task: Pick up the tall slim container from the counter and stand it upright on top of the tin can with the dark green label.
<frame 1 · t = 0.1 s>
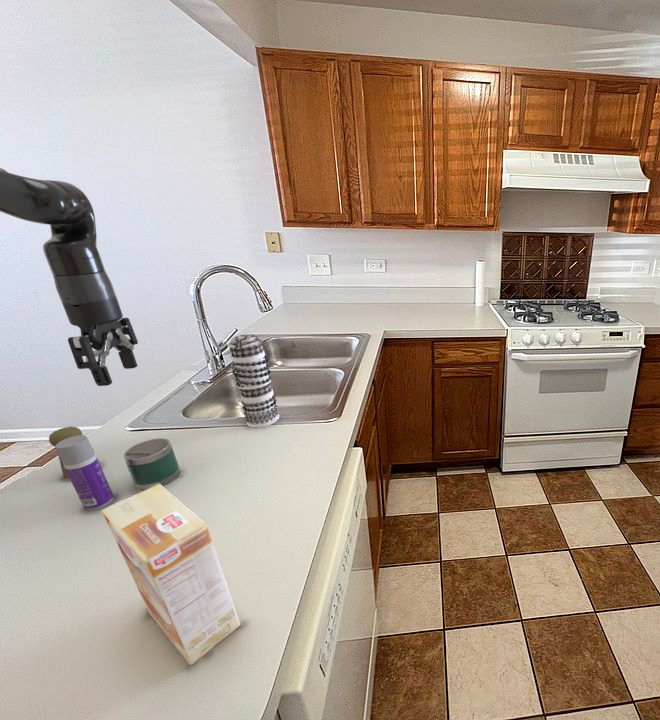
hand: (118, 376, 80), 25 cm above the table, tool pointing down, fingers open, 8 cm apart
cork: (81, 471, 92), on the table
decorative candle: (263, 420, 114), on the table
container: (99, 503, 82), on the table
coffeecake box: (193, 618, 60), on the table
tin can: (158, 478, 90), on the table
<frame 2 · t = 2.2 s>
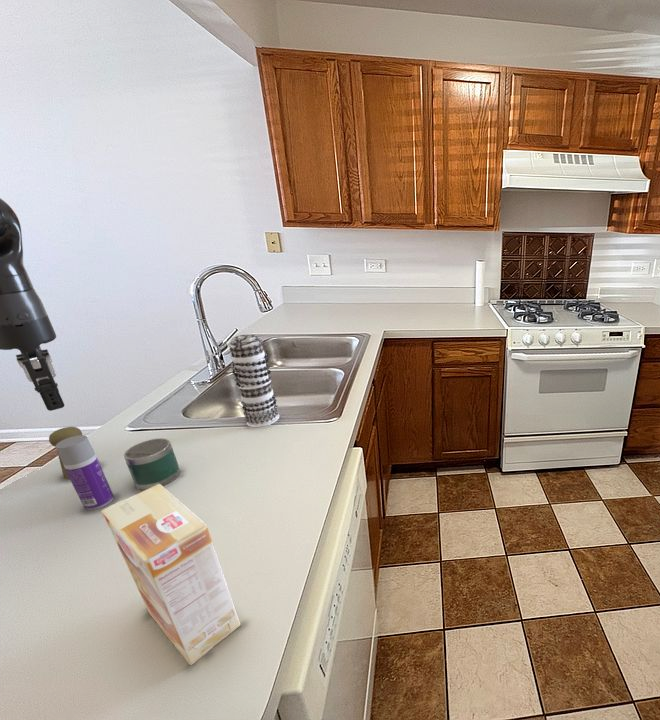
hand: (54, 401, 74), 24 cm above the table, tool pointing down, fingers open, 8 cm apart
nothing on the table moved.
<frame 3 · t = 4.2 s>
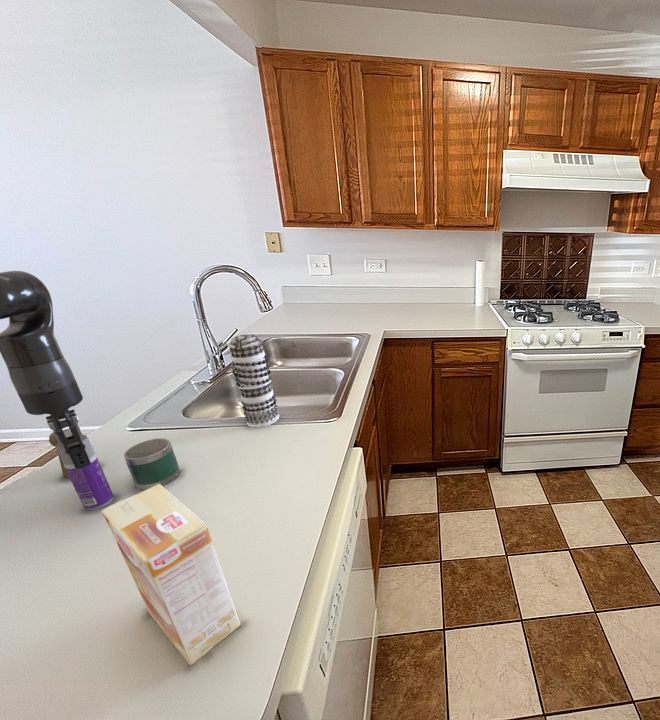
hand: (81, 460, 79), 10 cm above the table, tool pointing down, fingers closed on container, 4 cm apart
container: (99, 503, 82), on the table, touching gripper
everything else where it was.
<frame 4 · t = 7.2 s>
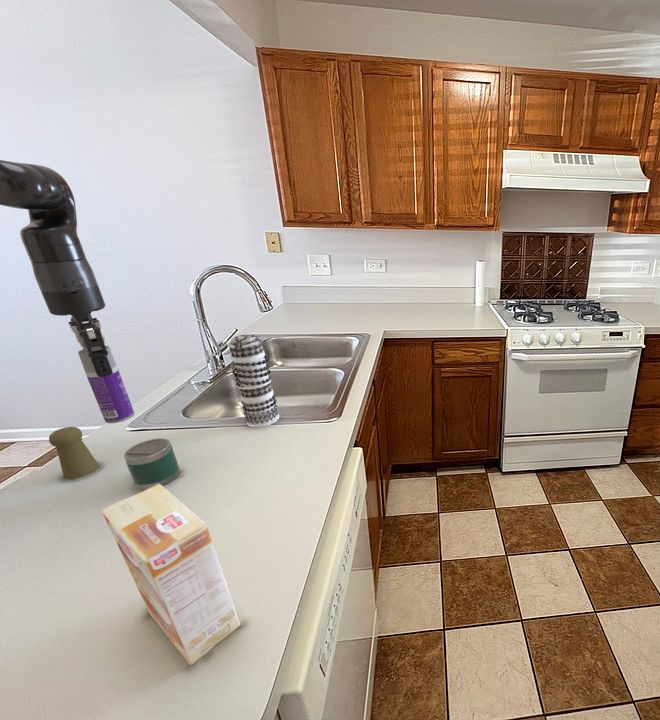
hand: (103, 371, 78), 27 cm above the table, tool pointing down, fingers closed on container, 4 cm apart
container: (120, 418, 82), point 17 cm above the table, touching gripper
everything else where it was.
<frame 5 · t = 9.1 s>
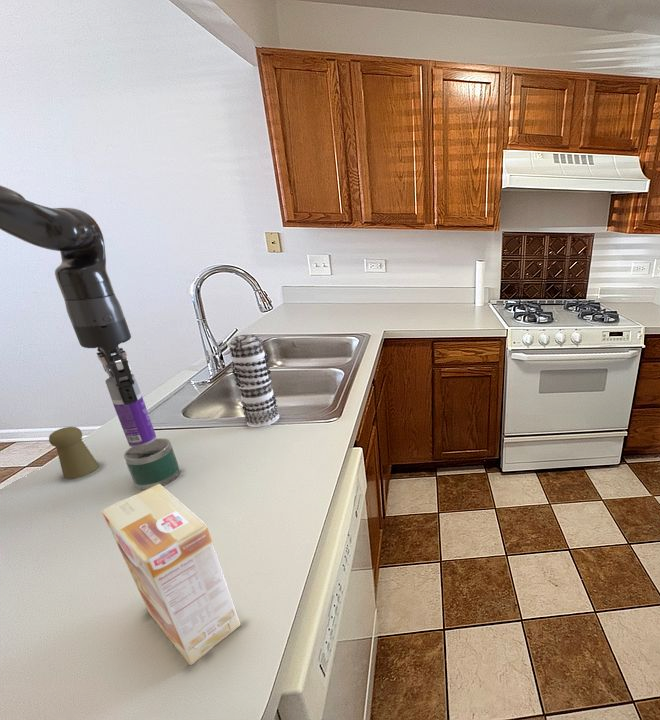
hand: (128, 398, 82), 20 cm above the table, tool pointing down, fingers closed on container, 4 cm apart
container: (143, 441, 86), point 10 cm above the table, touching gripper
everything else where it was.
when the fingers open (18 cm above the table, at t = 10.2 s): container stays where it is, resting on tin can.
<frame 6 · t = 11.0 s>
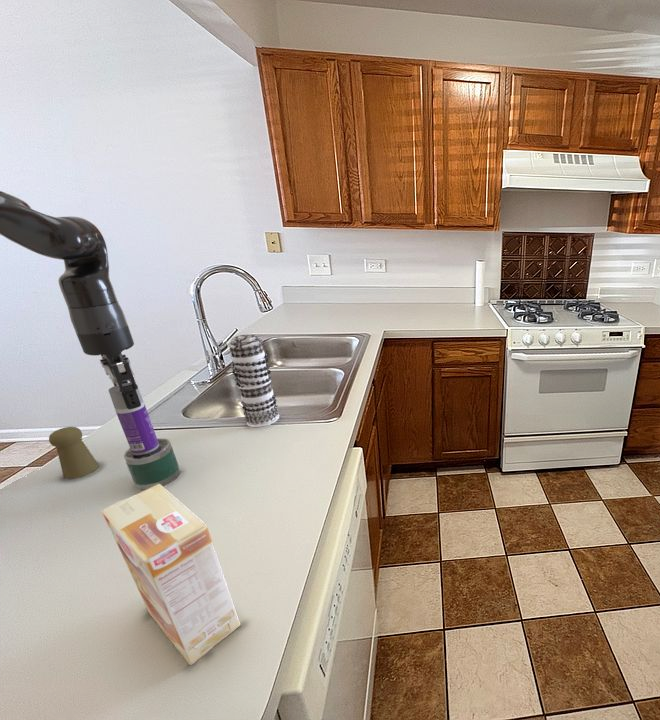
hand: (129, 401, 82), 20 cm above the table, tool pointing down, fingers open, 8 cm apart
container: (146, 449, 86), point 8 cm above the table, touching tin can
tin can: (158, 478, 90), on the table, touching container
everything else where it was.
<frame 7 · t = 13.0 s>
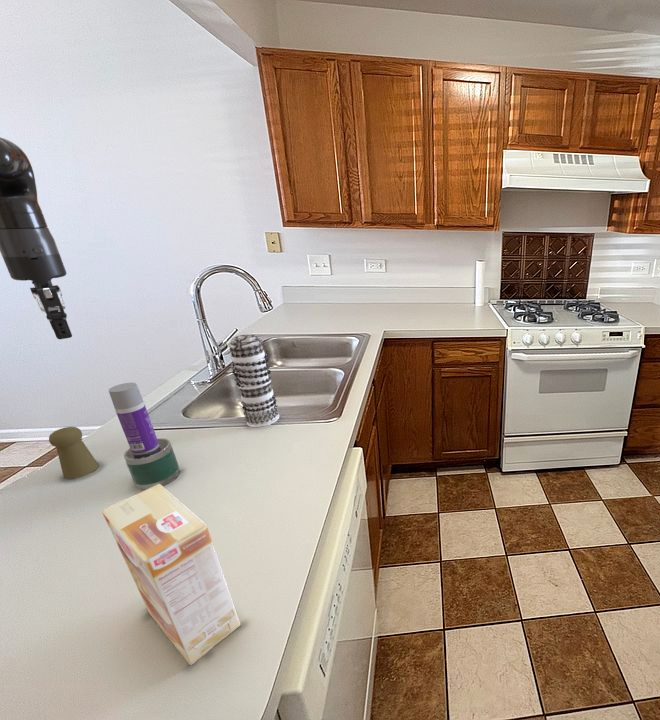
hand: (62, 333, 81), 33 cm above the table, tool pointing down, fingers open, 8 cm apart
nothing on the table moved.
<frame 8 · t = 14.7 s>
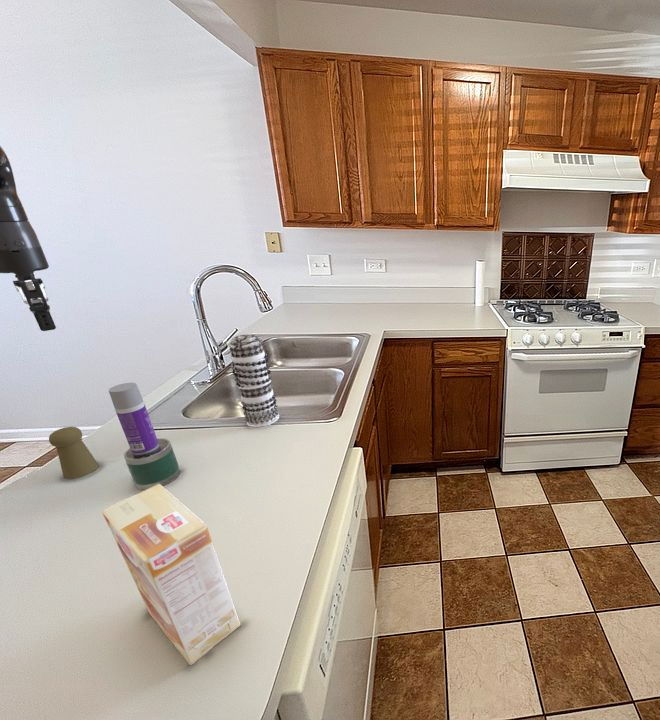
hand: (46, 326, 83), 34 cm above the table, tool pointing down, fingers open, 8 cm apart
nothing on the table moved.
at the end: container 0.3 cm off-centre on the tin can, point 7.8 cm above the tin can's base; container tilted 0°; the gripper is holding nothing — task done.
